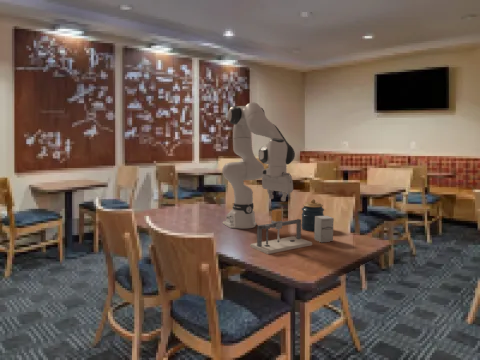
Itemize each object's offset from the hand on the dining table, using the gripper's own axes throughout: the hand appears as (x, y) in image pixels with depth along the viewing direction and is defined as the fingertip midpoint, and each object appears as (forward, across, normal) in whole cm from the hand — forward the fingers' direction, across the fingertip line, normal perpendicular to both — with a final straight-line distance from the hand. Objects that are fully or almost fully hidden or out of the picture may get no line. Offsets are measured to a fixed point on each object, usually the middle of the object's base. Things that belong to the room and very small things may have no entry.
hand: (277, 199), depth 195 cm
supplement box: (+24, -5, -27) cm, 36 cm away
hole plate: (+23, -1, -2) cm, 23 cm away
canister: (+23, +17, -41) cm, 50 cm away
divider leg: (+21, 0, 0) cm, 21 cm away
